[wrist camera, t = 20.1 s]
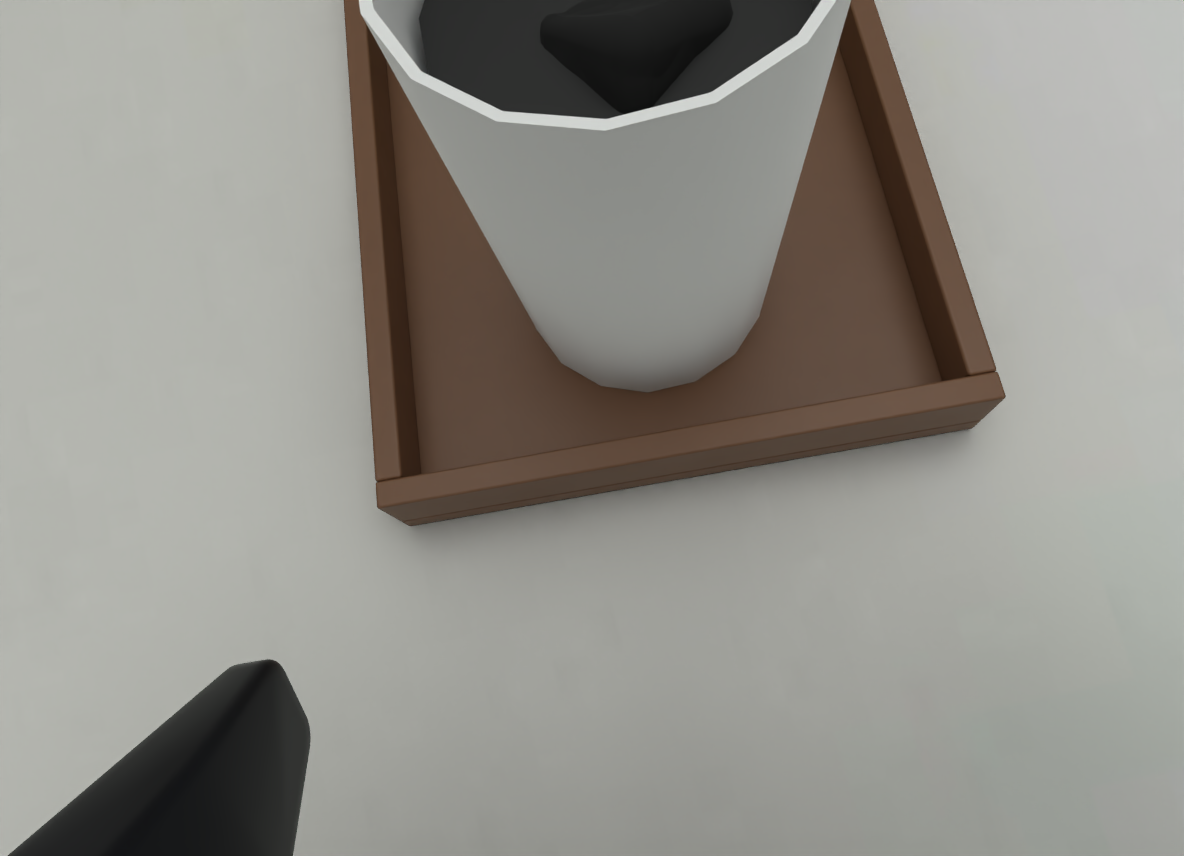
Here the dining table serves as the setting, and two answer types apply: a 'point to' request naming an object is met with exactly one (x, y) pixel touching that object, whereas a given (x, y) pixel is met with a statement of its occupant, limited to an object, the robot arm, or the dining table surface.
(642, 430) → the tray
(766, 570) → the dining table surface
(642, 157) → the white paper cup
